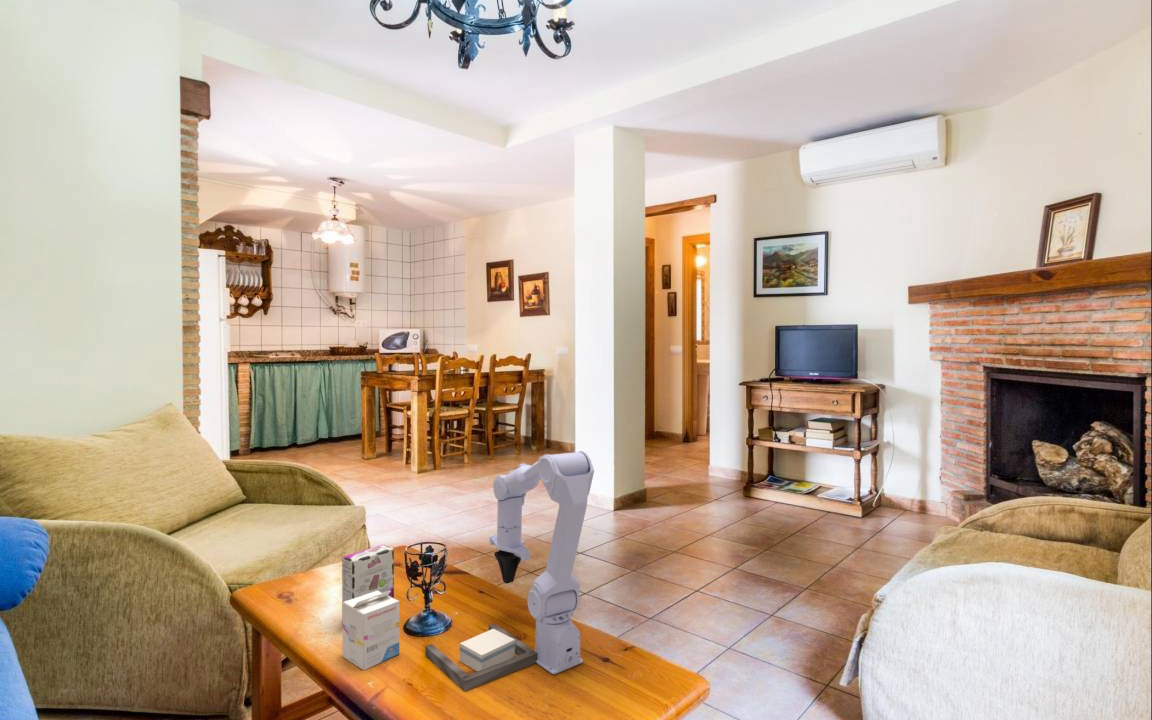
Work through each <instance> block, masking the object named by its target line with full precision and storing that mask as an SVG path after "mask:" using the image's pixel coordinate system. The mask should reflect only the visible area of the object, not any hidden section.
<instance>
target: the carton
mask: <svg viewBox="0 0 1152 720" xmlns="http://www.w3.org/2000/svg"><path fill="white" fill-rule="evenodd" d="M514 657H516V653H515V639H513V638H511V637H509V636H507V635H505V634H503V633H501V632H499V631H497V630H495V629H491V630H489V629H488V630H486V631H485V632H482V633H480V634H478V635H475V636H473V637H471V638H469V639H466V640H464V641H462V642H460V643H459V662H461V664H462V663H463V664H465V665H466V666H468V667H469V668H471V669H473V670H475V672H477V671H480V670H482V669H485V668H488V667H490V666H493V665H496V664H498V663H501V662H504V661H506V660H509V659H511V658H514Z"/></svg>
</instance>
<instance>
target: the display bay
mask: <svg viewBox="0 0 1152 720" xmlns="http://www.w3.org/2000/svg"><path fill="white" fill-rule="evenodd" d="M491 629H495V630H497V631H499V632H501V633H503V634H505V635H507V636H509V637H511V638H513V639H515V655H517V656H515V657H514V658H511V659H509V660H506V661H504V662H501V663H498V664H496V665H493V666H490V667H488V668H485V669H482V670H480V671H474V672H472V673H470V674H468V673H466V672H465V671H464V670H463V669H462V668H461V667H459V665H458V664H456V663H455V662H454V661H453V660H452V659H450V658H449V657H448V656H447V655H446V654H444V653H443V652H442V651H441V650H440V649H438V648H437V647H436V646H435V645H434V644H433V643H431V644H427V645H424V647H425V648H424V656H425V657H426V658H428V659H429V660H430V661H431V662H432V663H433V664H434V665H435V666H436V667H437V668H439V669H440V670H441V672H443V673H444V674H445V675H446V676H447V677H449V679H451V680H452V681H453V682H454V683H455V685H457V686H458V687H459V688H460V689H461V690H462V691H464V692H468V691H469V690H472V689H474V688H477V687H480V686H482V685H485V684H487V683H489V682H492V681H495V680H498V679H500V678H503V677H505V676H507V675H510V674H512V673H514V672H515V673H516V672H518V671H520V670H522V669H525V668H527V667H530V666H532V665H535V664H537V663H536V660H537V656H538V653H537V652H535V650H534V649H533V648H531V647H530V646H528V645H526V644H525V643H524V642H522V641H521V640H519V638H517V637H515V636H513V635H512V634H511V633H509V632H508V631H506V630H505V629H503V628H501V627H500V626H499V625H497V623H491V624H488V631H489V630H491Z"/></svg>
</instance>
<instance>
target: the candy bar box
mask: <svg viewBox="0 0 1152 720" xmlns="http://www.w3.org/2000/svg"><path fill="white" fill-rule="evenodd" d="M394 550H395V549H394V548H393V547H391V546H387V545H385V544H380V545H377V546H374V547H373V546H372V547H370V548H366V549H363V550H360V551H357V552H354V553H351V554H347V555H344V556H342V557H341V584H342V585H341V589H342V590H341V592H342V593H341V596H342V597H341V598H342V599H341V600H342V605H341V607H342V609H341V610H342V613H341V614H342V619H341V620H342V621H341V623H342V624H343V602H345V601H348V600H351V599H354V598H357V597H360V596H363V595H366V594H369V593H372V592H374V591H380V592H382V593H384V592H387V591H390V590H391V592H390V593H389V594H388V596H390V597H392V598H394V599H395V582H394V580H395V579H394V578H395V571H394V570H395V563H394V562H395V561H394V560H395V557H394V555H395V553H394V552H395V551H394Z"/></svg>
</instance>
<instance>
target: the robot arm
mask: <svg viewBox="0 0 1152 720" xmlns="http://www.w3.org/2000/svg"><path fill="white" fill-rule="evenodd" d="M594 473H595V469H594V466H593V463H592V460H591V458H590V456H589V454H588V453H587V452H585V451H584V450H579V451H577V452H576V451H575V452H566V453H557V454H547V453H546V454H544V455H541V456H539V457H538V460H537V461H536V462H534V463H533V464H532V465H531V464H526V463H520V464H517V468H516V469H511V470H509V473H507V474H498V475H496V477H494V480H493V486H492V488H493V494H494V498H496V500H497V517H496V518H497V521H496V523H497V526H496V527H497V528H496V534H495V535H494V534H493V535H489V545H490V546H495V548H496V549H497V550H498V551H495V552H494V557H495V559H496V560H497V563H498V565H499V570H500V574H501V579H502V581H503V583H504V584H511V583H513V582H514V581H515V577H516V573H517V570H518V567H519V564H520V563H521V561H522V562H525V561H529V560H531V550H529V549H528V548H527V547H526V545H525V544H526V543H525V542H526V541H525V540H523V539H522V527H523V526H522V525H523V524H522V519H523V518H522V517H523V516H522V514H523V513H522V512H523V511H522V510H523V506H524V504H525V497H526V495H527V493H528V492H530V491H532V490H534V489H535V488H537V486H538V484H539V482H540V481H541V482H542V484H543V486H544V487H545V490H546V492H547V494H548V495H549V498H550V500H551V501H553V502H554V503H557V504H558V510H557V515H556V520H555V524H554V529H553V532H552V533H553V534H552V538H551V544H550V548H549V552H548V553H549V554H548V557H547V558H548V559H547V563H546V567H545V571H543V572H542V573H541V574H540V575H539V576H537V577H536V578H535V579H534V580H533V583H532V584H533V585H532V587H531V588H530V590H529V592H528V595H527V597H526V598H527V602H526V603H527V607H528V611H529V613H530V615H531V616H532V618H533V619H535V650H534V651H535V652H537V653H538V656H537V660H536V663H535V664H537V665H538V666H540V667H542V668H543V669H545V670H546V671H547V672H549V673H550V674H552V675H556V674H559V673H562V672H564V671H566V670H568V669H570V668H571V669H572V668H573V667H575V666H577V665H581V664H583V662H584V660H583V659H582V658H581V632H580V630H579V628H578V627H577V626H576V625H575V624H574V623H573V621H572V618H571V617H574V614H575V613H574V611H576V610H577V609H578V607H579V605H580V587H581V584H580V582H579V579H578V578H577V576H576V575H574V573H573V568H574V565H575V560H576V556H577V552H578V547H579V543H580V538H581V533H582V529H583V524H584V520H585V515H586V511H587V507H588V497H589V495H590V492H591V491H590V490H591V487H592V482H593V479H594Z"/></svg>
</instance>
